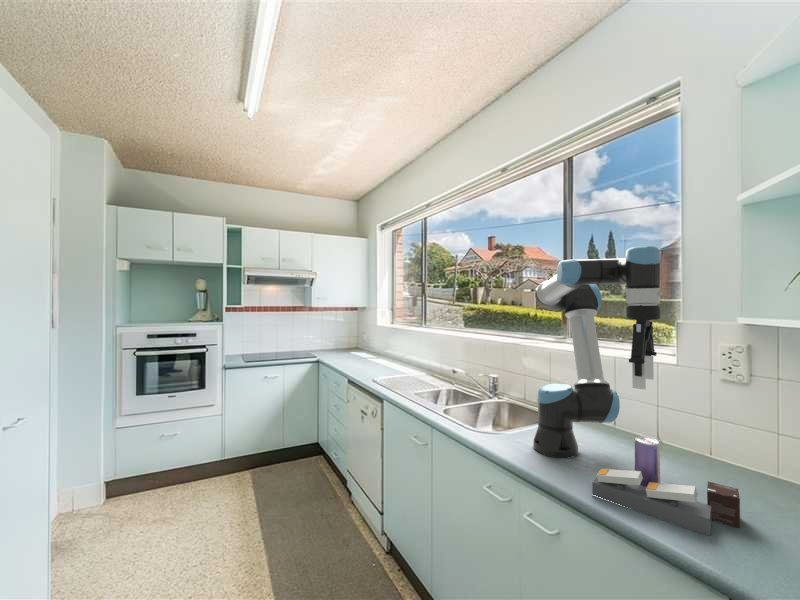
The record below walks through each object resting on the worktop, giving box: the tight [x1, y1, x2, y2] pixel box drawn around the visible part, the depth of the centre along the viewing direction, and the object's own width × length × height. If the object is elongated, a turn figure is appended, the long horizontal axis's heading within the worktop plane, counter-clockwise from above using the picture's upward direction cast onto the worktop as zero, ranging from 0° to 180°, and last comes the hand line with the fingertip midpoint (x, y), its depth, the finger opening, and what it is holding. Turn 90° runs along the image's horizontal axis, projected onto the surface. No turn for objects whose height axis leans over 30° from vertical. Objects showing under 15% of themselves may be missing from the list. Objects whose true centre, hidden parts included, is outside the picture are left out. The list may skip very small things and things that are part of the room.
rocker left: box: [596, 468, 643, 485], centre depth 99 cm, size 10×5×2 cm, turn 46°
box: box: [706, 481, 741, 529], centre depth 90 cm, size 6×6×7 cm
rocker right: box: [646, 482, 699, 502], centre depth 91 cm, size 10×5×2 cm, turn 46°
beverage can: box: [634, 436, 661, 487], centre depth 102 cm, size 6×6×15 cm
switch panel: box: [591, 476, 712, 537], centre depth 95 cm, size 25×7×5 cm, turn 47°
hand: (643, 383), depth 96 cm, fingers open, 13 cm apart
